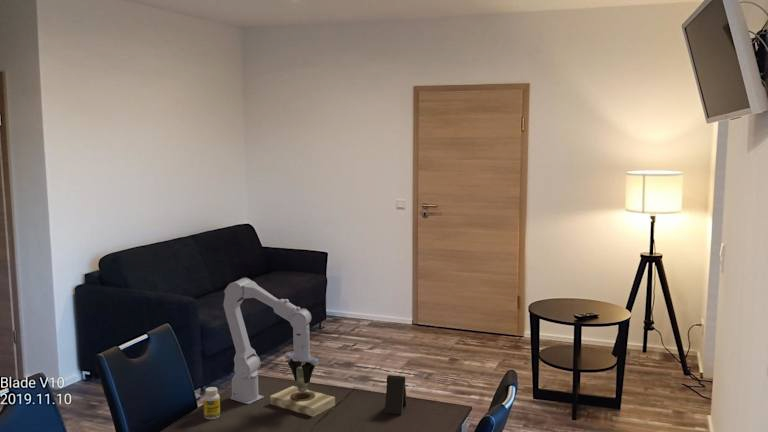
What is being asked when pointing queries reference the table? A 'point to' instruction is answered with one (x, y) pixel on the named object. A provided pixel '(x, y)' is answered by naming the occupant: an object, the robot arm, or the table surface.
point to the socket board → (302, 401)
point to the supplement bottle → (211, 403)
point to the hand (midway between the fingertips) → (302, 381)
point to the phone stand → (395, 395)
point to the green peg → (301, 380)
